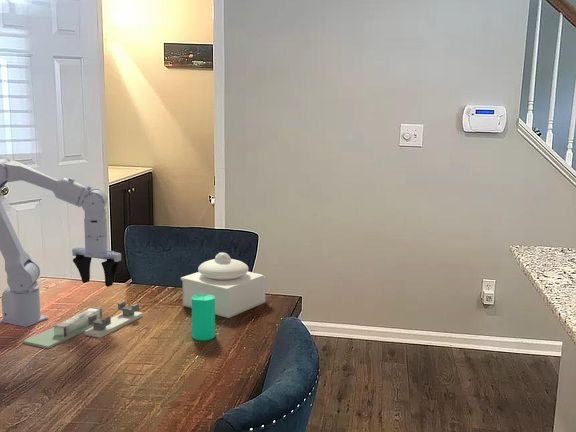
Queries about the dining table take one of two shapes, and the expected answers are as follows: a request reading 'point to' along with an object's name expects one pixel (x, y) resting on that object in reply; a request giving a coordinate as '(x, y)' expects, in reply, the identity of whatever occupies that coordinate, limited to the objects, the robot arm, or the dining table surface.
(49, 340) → the mat
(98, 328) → the standards
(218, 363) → the dining table surface
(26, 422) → the dining table surface
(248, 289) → the butter dish
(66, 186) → the robot arm
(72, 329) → the rail
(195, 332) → the candle
